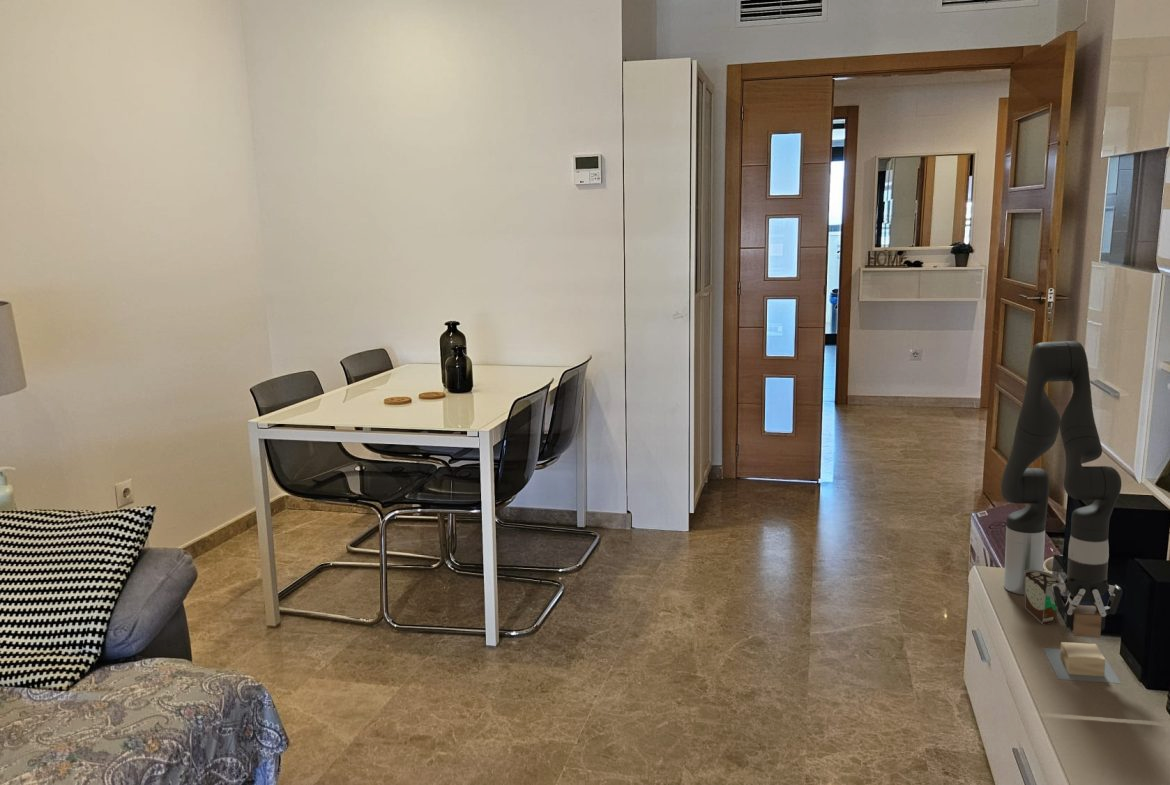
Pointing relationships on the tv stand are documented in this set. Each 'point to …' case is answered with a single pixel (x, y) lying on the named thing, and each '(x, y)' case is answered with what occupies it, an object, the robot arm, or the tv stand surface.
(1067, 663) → the oak base block
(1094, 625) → the walnut cube
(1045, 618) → the food container
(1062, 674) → the build board
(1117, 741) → the tv stand surface
